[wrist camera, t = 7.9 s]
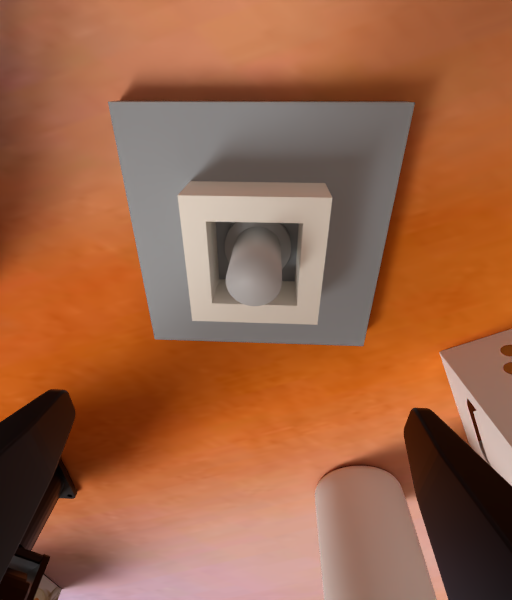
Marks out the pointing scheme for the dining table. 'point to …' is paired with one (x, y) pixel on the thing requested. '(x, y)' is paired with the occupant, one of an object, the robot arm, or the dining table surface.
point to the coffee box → (47, 590)
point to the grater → (484, 397)
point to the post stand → (255, 235)
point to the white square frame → (266, 209)
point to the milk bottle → (368, 538)
